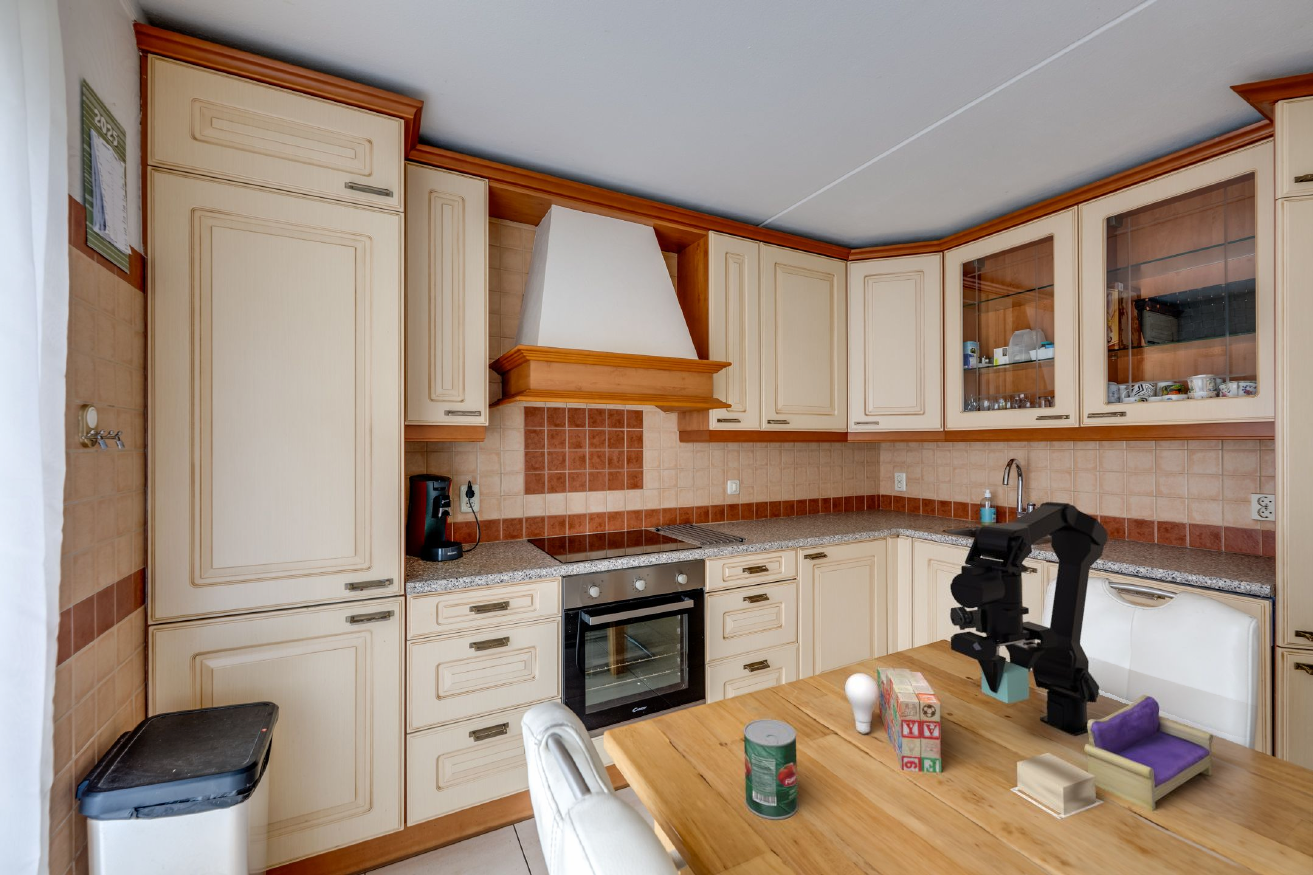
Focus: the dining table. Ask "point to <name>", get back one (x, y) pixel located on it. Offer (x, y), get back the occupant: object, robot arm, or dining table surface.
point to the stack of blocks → (910, 718)
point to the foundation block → (1056, 783)
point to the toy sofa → (1145, 753)
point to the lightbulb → (862, 699)
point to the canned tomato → (770, 769)
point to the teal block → (1010, 684)
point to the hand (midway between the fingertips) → (1005, 689)
